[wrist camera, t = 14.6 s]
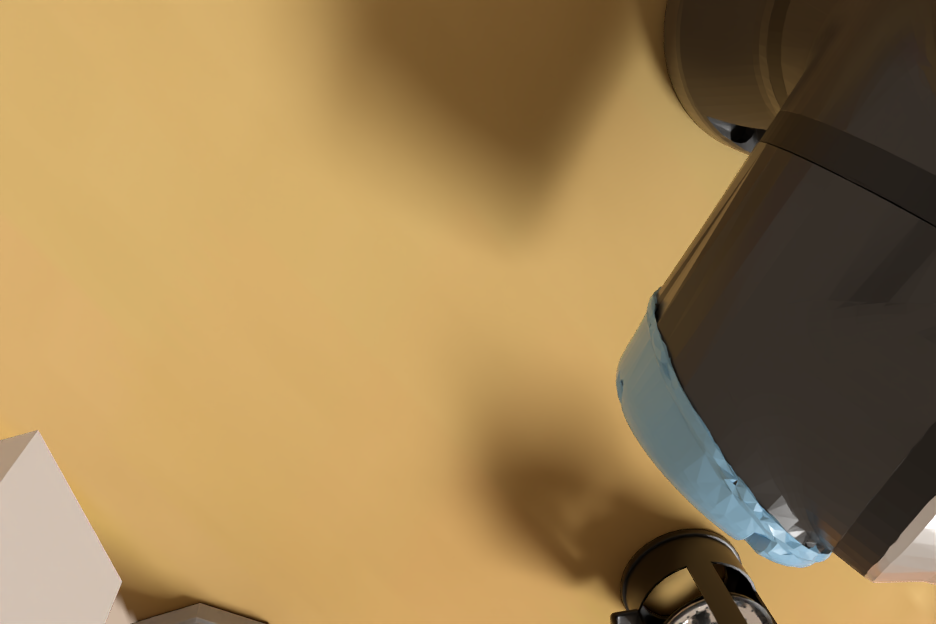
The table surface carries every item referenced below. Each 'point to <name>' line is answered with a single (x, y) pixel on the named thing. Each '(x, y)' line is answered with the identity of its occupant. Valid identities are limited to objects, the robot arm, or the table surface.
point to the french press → (721, 605)
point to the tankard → (198, 616)
